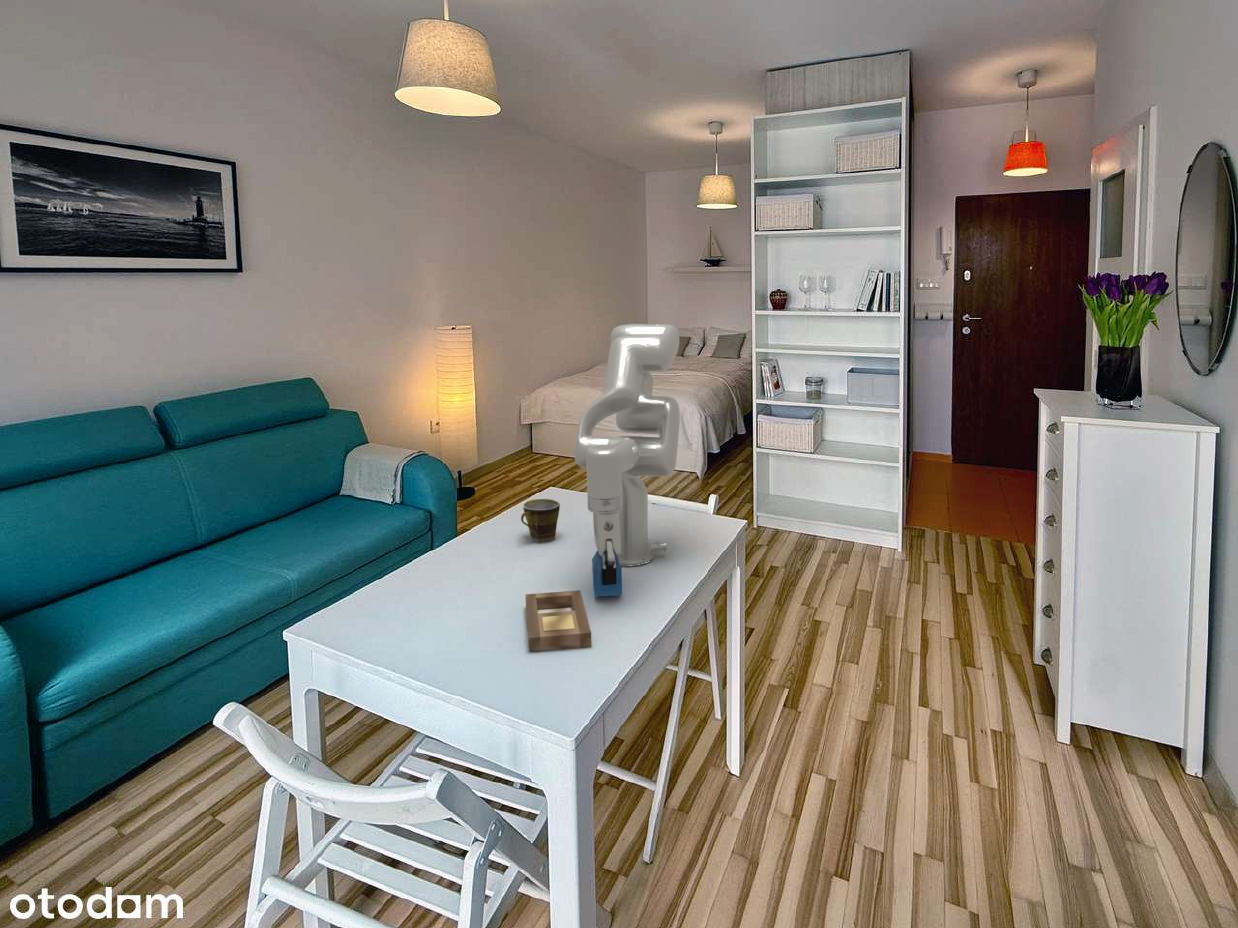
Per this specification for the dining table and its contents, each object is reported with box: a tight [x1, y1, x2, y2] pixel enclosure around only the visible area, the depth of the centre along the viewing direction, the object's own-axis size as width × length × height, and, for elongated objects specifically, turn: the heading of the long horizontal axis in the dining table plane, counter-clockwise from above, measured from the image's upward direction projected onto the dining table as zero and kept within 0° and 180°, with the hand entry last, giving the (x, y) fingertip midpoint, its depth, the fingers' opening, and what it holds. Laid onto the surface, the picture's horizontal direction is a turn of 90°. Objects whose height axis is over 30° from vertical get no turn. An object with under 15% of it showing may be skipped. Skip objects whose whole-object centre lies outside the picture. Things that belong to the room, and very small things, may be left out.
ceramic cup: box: [520, 498, 561, 544], centre depth 198 cm, size 13×10×10 cm
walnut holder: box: [525, 589, 592, 653], centre depth 151 cm, size 12×20×3 cm, turn 9°
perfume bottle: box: [591, 550, 623, 597], centre depth 163 cm, size 6×6×12 cm
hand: (606, 576), depth 164 cm, fingers closed on perfume bottle, 6 cm apart
